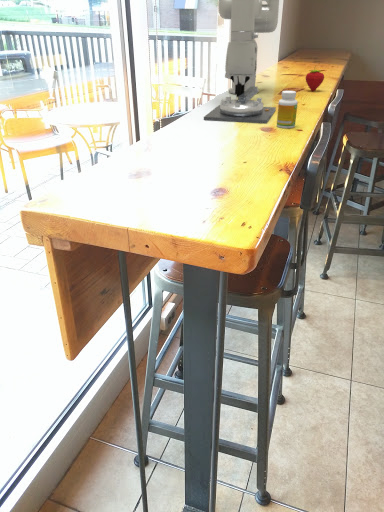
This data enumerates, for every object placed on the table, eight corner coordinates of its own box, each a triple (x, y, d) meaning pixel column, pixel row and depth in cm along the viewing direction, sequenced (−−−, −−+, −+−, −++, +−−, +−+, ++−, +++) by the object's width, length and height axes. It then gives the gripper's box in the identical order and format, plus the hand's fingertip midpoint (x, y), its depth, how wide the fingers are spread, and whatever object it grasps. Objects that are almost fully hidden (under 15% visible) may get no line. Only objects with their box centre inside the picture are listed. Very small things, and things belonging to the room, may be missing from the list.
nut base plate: (219, 107, 146) (219, 103, 146) (275, 110, 141) (275, 106, 140) (203, 120, 130) (203, 115, 129) (266, 123, 125) (266, 119, 124)
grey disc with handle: (235, 98, 155) (235, 86, 153) (272, 100, 151) (273, 87, 149) (215, 114, 131) (215, 100, 129) (258, 116, 127) (259, 102, 125)
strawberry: (322, 92, 169) (325, 66, 164) (303, 92, 171) (306, 66, 166) (322, 90, 174) (326, 64, 169) (304, 89, 176) (307, 64, 171)
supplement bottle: (295, 128, 119) (299, 93, 114) (276, 128, 120) (279, 93, 115) (294, 124, 123) (298, 90, 118) (276, 124, 124) (279, 89, 119)
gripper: (266, 36, 135) (262, 95, 144) (222, 36, 139) (221, 94, 148) (262, 38, 129) (258, 99, 138) (217, 38, 133) (216, 97, 142)
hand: (239, 96), depth 143 cm, fingers closed
